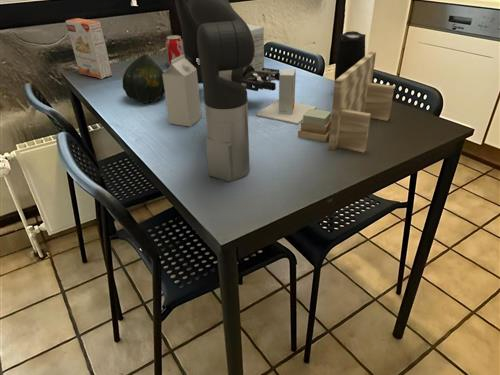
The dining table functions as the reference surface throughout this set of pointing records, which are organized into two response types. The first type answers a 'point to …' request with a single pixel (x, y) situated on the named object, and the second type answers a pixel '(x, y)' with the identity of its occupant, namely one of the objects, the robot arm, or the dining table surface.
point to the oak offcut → (316, 128)
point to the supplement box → (258, 46)
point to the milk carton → (182, 92)
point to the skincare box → (287, 91)
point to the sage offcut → (316, 117)
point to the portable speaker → (349, 51)
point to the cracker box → (89, 47)
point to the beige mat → (293, 118)
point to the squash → (144, 80)
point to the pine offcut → (314, 136)
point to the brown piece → (358, 105)
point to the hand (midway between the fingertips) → (281, 82)
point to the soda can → (174, 47)
